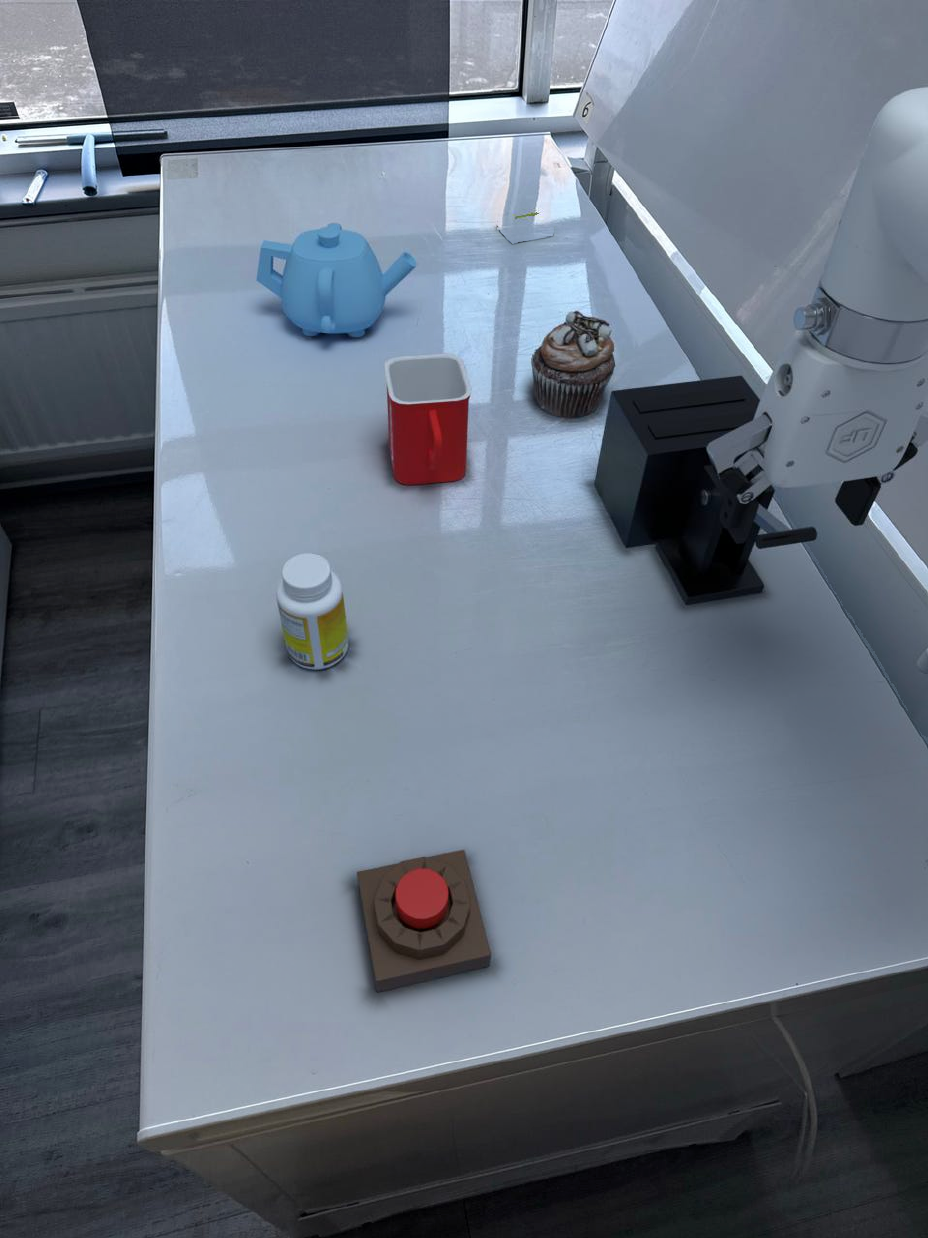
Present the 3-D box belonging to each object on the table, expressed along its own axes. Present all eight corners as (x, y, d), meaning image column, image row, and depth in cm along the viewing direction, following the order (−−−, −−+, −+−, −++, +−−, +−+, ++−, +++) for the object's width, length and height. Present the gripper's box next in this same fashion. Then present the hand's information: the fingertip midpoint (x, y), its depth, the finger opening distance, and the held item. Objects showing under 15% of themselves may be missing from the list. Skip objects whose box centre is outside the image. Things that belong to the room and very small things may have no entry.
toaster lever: (814, 549, 75) (819, 523, 73) (759, 558, 74) (764, 532, 72) (749, 495, 84) (753, 471, 82) (700, 502, 83) (702, 478, 81)
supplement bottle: (349, 623, 83) (341, 544, 75) (348, 671, 79) (339, 594, 72) (288, 625, 82) (274, 546, 75) (284, 673, 79) (269, 595, 71)
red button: (453, 922, 61) (453, 912, 60) (401, 934, 60) (400, 924, 59) (441, 874, 63) (442, 863, 62) (391, 884, 63) (390, 874, 61)
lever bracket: (762, 592, 87) (800, 501, 78) (685, 605, 86) (716, 513, 77) (727, 536, 92) (760, 444, 83) (655, 547, 91) (680, 455, 82)
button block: (489, 966, 63) (492, 945, 60) (376, 992, 61) (374, 972, 58) (463, 862, 68) (464, 838, 65) (358, 884, 66) (355, 860, 63)
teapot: (254, 353, 111) (239, 262, 102) (271, 284, 122) (259, 196, 113) (415, 357, 111) (414, 267, 102) (419, 288, 122) (418, 201, 113)
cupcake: (541, 367, 111) (549, 292, 103) (616, 386, 109) (631, 310, 101) (516, 410, 105) (523, 334, 97) (595, 430, 103) (609, 354, 95)
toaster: (752, 528, 93) (788, 434, 84) (625, 548, 91) (648, 452, 81) (713, 467, 99) (742, 373, 90) (593, 484, 97) (611, 389, 88)
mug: (385, 440, 101) (382, 357, 93) (458, 434, 102) (460, 352, 94) (398, 512, 93) (395, 429, 85) (476, 505, 94) (480, 422, 86)
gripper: (772, 365, 52) (705, 573, 65) (1030, 335, 55) (917, 540, 68) (719, 300, 57) (666, 505, 70) (959, 276, 60) (866, 477, 72)
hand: (790, 522), depth 69 cm, fingers open, 9 cm apart
